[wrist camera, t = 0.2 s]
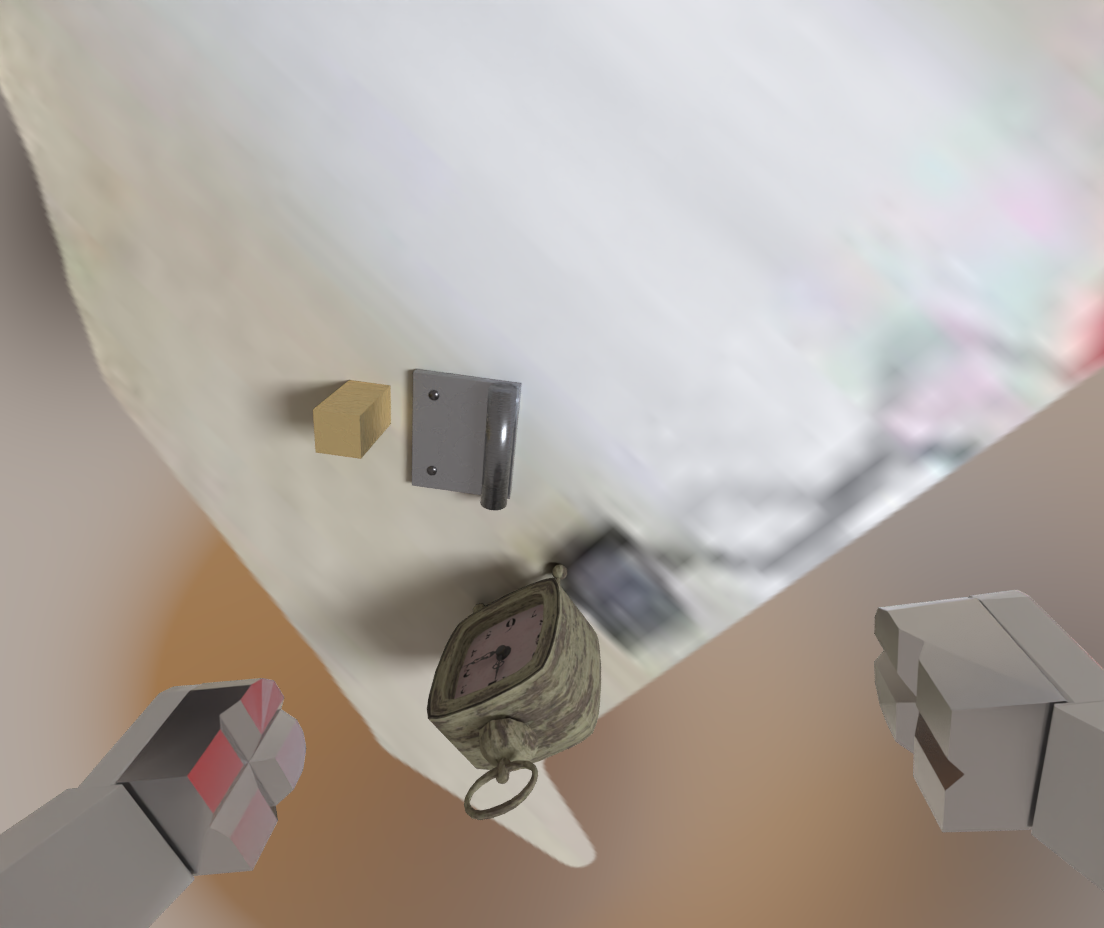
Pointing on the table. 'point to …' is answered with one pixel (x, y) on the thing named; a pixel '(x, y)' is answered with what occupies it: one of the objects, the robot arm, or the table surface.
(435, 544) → the table surface
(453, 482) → the fixed leaf
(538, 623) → the tabletop clock
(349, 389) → the tan wooden block
